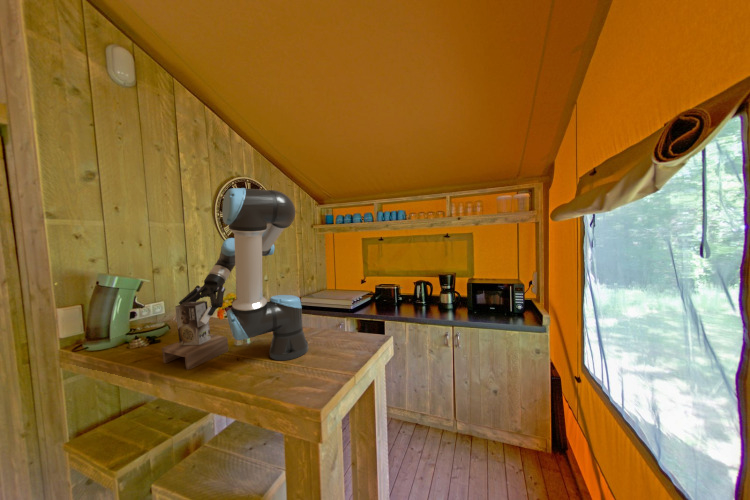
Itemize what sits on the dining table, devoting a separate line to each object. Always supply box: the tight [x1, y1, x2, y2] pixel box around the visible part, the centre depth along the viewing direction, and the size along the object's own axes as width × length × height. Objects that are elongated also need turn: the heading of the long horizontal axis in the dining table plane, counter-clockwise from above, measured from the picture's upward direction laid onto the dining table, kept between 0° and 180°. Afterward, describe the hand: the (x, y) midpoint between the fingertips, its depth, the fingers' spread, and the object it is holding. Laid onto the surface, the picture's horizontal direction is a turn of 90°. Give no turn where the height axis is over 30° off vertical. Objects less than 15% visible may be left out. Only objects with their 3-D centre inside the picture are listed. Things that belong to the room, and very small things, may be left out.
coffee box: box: [174, 300, 211, 345], centre depth 106 cm, size 9×6×16 cm
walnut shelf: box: [161, 333, 229, 371], centre depth 106 cm, size 16×16×6 cm
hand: (189, 322), depth 103 cm, fingers open, 13 cm apart
